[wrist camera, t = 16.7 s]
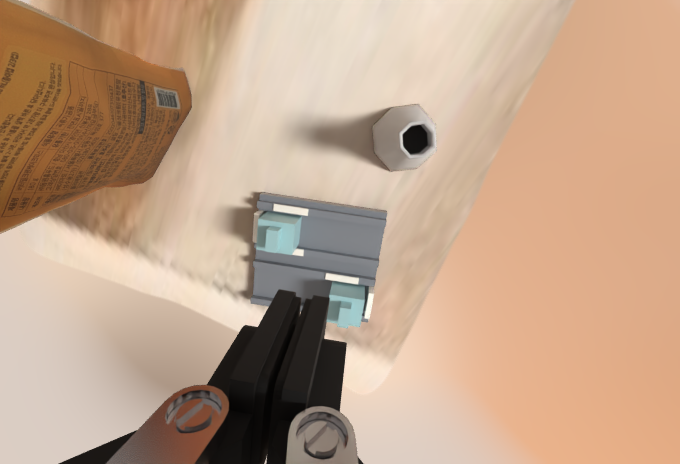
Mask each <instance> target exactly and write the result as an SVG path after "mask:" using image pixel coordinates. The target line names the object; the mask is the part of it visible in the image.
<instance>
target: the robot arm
mask: <svg viewBox="0 0 680 464" xmlns="http://www.w3.org/2000/svg"><path fill="white" fill-rule="evenodd" d="M329 302H330V298H328V297H322V296H316V295H313V297H312V299H307V298H306V300H305V303H304V305H303V308H302V311H301V314H300V307H301V297H296V292H293V291H287V290H281V289H279V290H278V291H277V293H276V295H275V297H274V299H273V300H272V302H271V304H270V306H269V308H268V309H267V311H266V313H265V315H264V317H263V319H262V320H261V322H260V324H259V326H258V327H254V326H248V325H245V326H243V328H242V329H241V331H240V332H239V334H238V335H237V337H236V339H235V340H234V342H233V343H232V345H231V347H230V349H229V350H228V351H227V353H226V355H225V356H224V358H223V360H222V361H221V363H220V365H219V366H218V368H217V369H216V371H215V372H214V374H213V376H212V377H211V379H210V381H209V382H208V384H207V385H194V386H191V387H187V388H184V389H182V390H180V391H178V392H176V393H174V394H173V395H172V396H171V397H169V398H168V399H167V400H166V401H165V402H164V403H163V404H162V405H161V406H160V407H159V408H158V409H157V410H156V411H155V412H154V413H153V414H152V415H151V417H150V418H149V419H148V420H147V421H146V422H145V423H144V424H143V425H142V426H141V427H140V428H139V429H138V430H136V431H134V432H131V433H129V434H127V435H124V436H122V437H120V438H117V439H115V440H113V441H110V442H108V443H106V444H103V445H101V446H99V447H96V448H94V449H92V450H89V451H87V452H85V453H82V454H80V455H78V456H75V457H73V458H71V459H68V460H66V461H64V462H62V463H59V464H264V463H265V460H266V456H267V463H266V464H363V463H362V461H361V460H360V459H359V458H358V456H357V447H356V439H355V433H354V430H353V426H352V425H351V423H350V422H349V420H348V419H347V418H346V417H345V416H344V415H343V414H342V413H340V403H341V402H340V401H341V393H342V384H343V374H344V365H345V355H346V345H347V343H345V342H339V341H334V340H328V339H324V335H325V328H326V322H327V315H328V308H329Z"/></svg>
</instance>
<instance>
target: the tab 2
mask: <svg viewBox="0 0 680 464" xmlns="http://www.w3.org/2000/svg"><path fill="white" fill-rule="evenodd" d="M329 298H330V302H329V308H328V315H327V322H331V323H337V324H338V325H337V327H343V328H348V325H349V326H356V327H360V324H361V319H362V313H363V307H364V302H365V285H362V284H351V283H345V282H339V281H333V282H332V286H331V290H330V295H329Z"/></svg>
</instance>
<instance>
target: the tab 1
mask: <svg viewBox="0 0 680 464" xmlns="http://www.w3.org/2000/svg"><path fill="white" fill-rule="evenodd" d="M301 220H302V216H300V215H293V214H287V213H280V212H274V211H268V212H266V213H265V214H264V215H263V216H261V217H260V218H259V219H258V229H257V244H256V250H263V251H266V252H272V253H282V254H288V255H292V254H293V253H294V251H295V249H296V248H297V246H298V244H299V239H300V229H301Z"/></svg>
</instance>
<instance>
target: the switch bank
mask: <svg viewBox="0 0 680 464" xmlns="http://www.w3.org/2000/svg"><path fill="white" fill-rule="evenodd" d="M257 208H259V211H257V212H256V213H254V223H253V239H252V242H255V243H254V248H256V244H257V229H258V219H259V218H260V217H261V216H263V215H264V214H265V213H266V212H268V211H274V212H280V213H287V214H293V215H300V216H302V220H301V229H300V239H299V244H298V246H297V248H296V249H295V251H294V253H293V254H292V255H288V254H282V253H272V252H266V251H263V250H256V257H255V260H254V261H253V267H255V272H254V286H253V295H252V297H251V304H257V305H263V306H270V304H271V302H272V300H273V299H274V297H275V295H276V293H277V291H278V290H279V289H281V290H287V291H293V292H296V297H301V307H300V312H301V311H302V308H303V305H304V303H305V300H306V298H307V299H312V297H313V295H316V296H322V297H328V298H329V295H330V290H331V286H332V282H333V281H339V282H345V283H351V284H362V285H365V302H364V307H363V313H362V319H361V321H362V322H368V319H370V313H371V308H372V302H373V297H374V286H375V277H376V271H377V267H378V264H379V255H380V249H381V244H382V238H383V233H384V228H385V226H386V217H387V211H384V210H377V209H371V208H364V207H357V206H351V205H344V204H337V203H331V202H324V201H318V200H311V199H304V198H298V197H291V196H284V195H278V194H271V193H265V192H262V193H261V194H260V198H259V200H258V201H257Z"/></svg>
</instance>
